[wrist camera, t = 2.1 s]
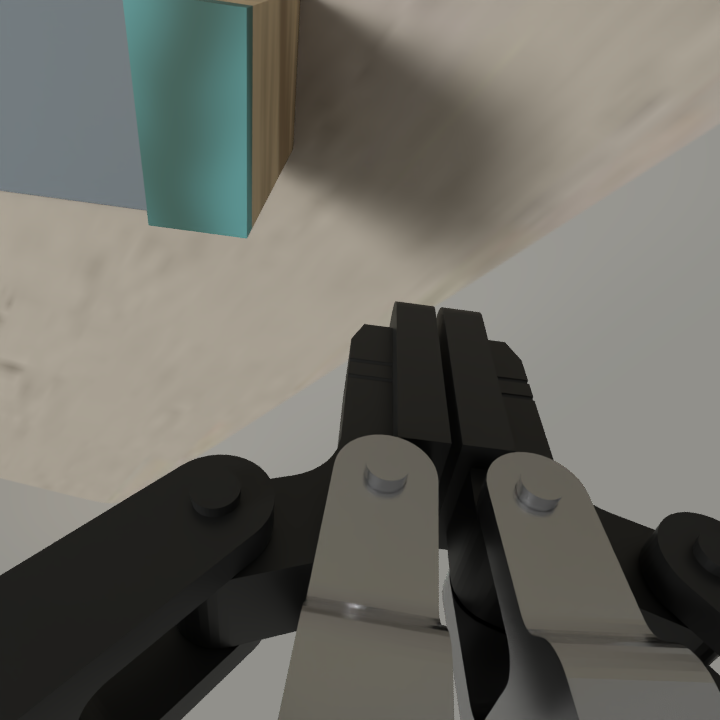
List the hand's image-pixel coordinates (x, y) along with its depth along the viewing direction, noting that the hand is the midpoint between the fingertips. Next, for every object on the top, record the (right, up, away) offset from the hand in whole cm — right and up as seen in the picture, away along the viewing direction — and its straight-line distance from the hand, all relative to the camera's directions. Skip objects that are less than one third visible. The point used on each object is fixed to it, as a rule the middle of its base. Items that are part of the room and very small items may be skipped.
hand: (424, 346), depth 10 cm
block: (-7, +16, +20) cm, 26 cm away
